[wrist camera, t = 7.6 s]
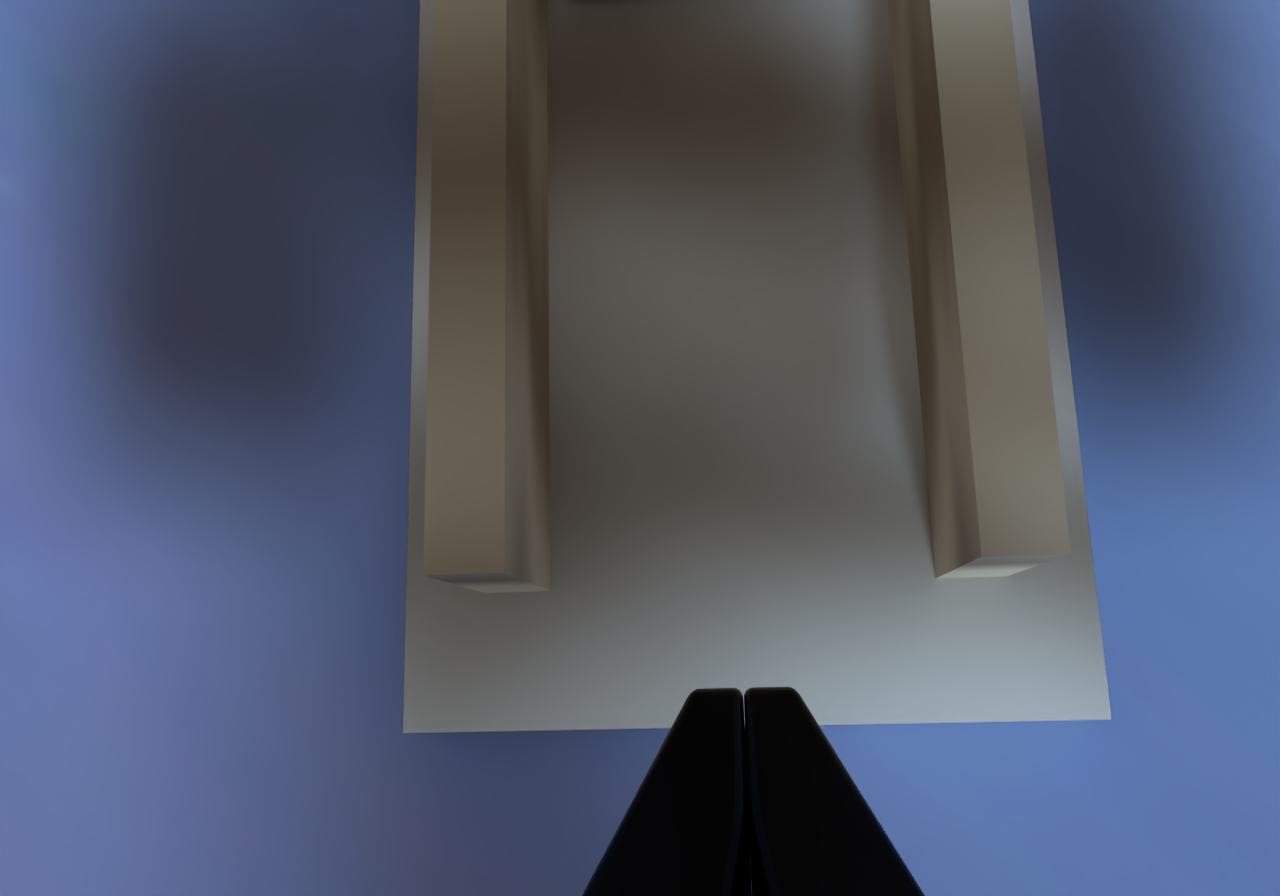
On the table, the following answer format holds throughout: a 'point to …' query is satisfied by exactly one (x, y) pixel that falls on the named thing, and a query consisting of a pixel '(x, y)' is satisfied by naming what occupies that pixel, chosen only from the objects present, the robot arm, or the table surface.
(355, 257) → the table surface
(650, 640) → the chute
